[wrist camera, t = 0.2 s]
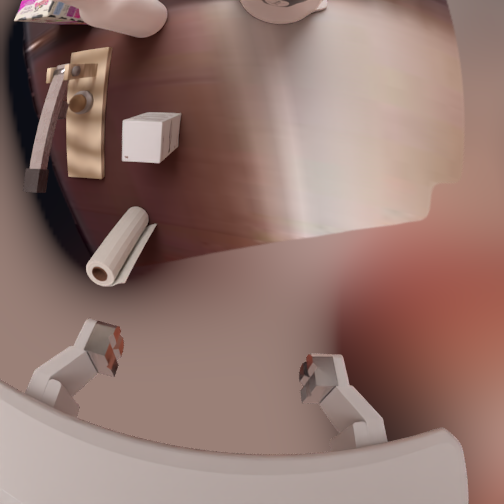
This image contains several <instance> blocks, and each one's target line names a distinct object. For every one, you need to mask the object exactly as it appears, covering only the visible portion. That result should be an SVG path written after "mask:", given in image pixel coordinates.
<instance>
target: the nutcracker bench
mask: <svg viewBox="0 0 504 504" xmlns="http://www.w3.org/2000/svg"><path fill="white" fill-rule="evenodd" d="M111 53H112V48H111V47H107V48H99V49H92V50H86V51H80V52H74V53H72V55H71V62H70V64H67V65H65V70H64V80H69V83H68V94H67V103H68V104H69V107H68V110H67V120H66V135H67V162H68V176H69V177H82V178H95V179H102V178H104V177H105V172H104V130H105V109H106V95H107V85H108V75H109V67H110V60H111ZM56 69H57V67H53V68H48V69H47V79H46V83H51V82H52V79H53V73H54V71H55V70H56Z"/></svg>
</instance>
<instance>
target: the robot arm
mask: <svg viewBox="0 0 504 504" xmlns="http://www.w3.org/2000/svg"><path fill="white" fill-rule="evenodd" d="M240 2H241V4H242V6H243V7H244V8H245V10H246V11H247V12H248V13H250V14H251V15H252V16H254V17H255V18H257V19H259V20H262V21H265V22H268V23H274V24H288V23H293V22H296V21H299V20H301V19H303V18H305V17H306V16H307V15H309V14H310V13H312V12H316V11H321V10H324V9H325V8H326V7H327V0H323V1H322V0H240ZM120 333H121V330H120V327H119V326H116V325H111V324H107V323H104V322H100V321H97V320H94V319H90V318H88V319H87V320H86V321H85V323H84V325H83V328H82V329H81V331H80V333H79V335H78V337H77V340H76V342H75V344H74V346H70V347H68V348H67V349H65V350H64V351H62V352H61V353H59V354H58V355H56V356H55V357H53V358H52V359H50V360H49V361H48V362H46V363H44V364H43V365H42V366H40V367H39V368H37V369H36V370H35V371H34V373H33V376H32V378H31V380H30V383H29V385H28V387H27V390H26V392H25V393H23V392H21V391H19V390H18V389H16V388H14V387H13V386H11V385H9V384H8V383H6V382H4V381H3V380H1V379H0V504H468V482H467V472H466V465H465V459H464V453H463V449H462V446H461V444H460V442H459V441H458V440H457V439H456V438H455V437H454V436H453V435H452V434H451V433H450V432H449V431H447V430H446V429H444V428H438V429H435V430H431V431H428V432H425V433H422V434H418V435H415V436H411V437H407V438H403V439H399V440H395V441H391V442H387V437H386V432H385V428H384V423H383V419H382V417H381V416H380V415H379V414H378V413H377V412H376V411H375V410H374V409H373V408H372V406H371V405H370V404H369V403H368V402H367V401H366V400H365V399H364V398H363V397H362V396H361V395H360V393H359V392H358V391H357V390H356V389H355V388H354V387H353V386H350V385H349V381H348V377H347V372H346V368H345V364H344V359H343V357H342V355H330V354H309V355H308V356H307V357H306V362H304V363H303V364H302V365H301V367H300V372H299V381H300V383H301V384H302V386H303V388H302V389H301V401H302V403H307V404H309V403H310V404H319V405H320V407H321V408H322V410H323V411H324V413H325V414H326V415H327V417H328V418H329V420H330V421H331V422H332V424H333V425H334V427H335V428H336V429H337V431H338V432H339V434H338V435H336V436H335V437H333V438H332V439H331V440H330V449H331V451H330V452H320V453H306V454H242V453H228V452H217V451H208V450H200V449H193V448H187V447H180V446H175V445H170V444H165V443H160V442H155V441H151V440H147V439H142V438H138V437H135V436H131V435H127V434H124V433H120V432H117V431H113V430H110V429H107V428H104V427H101V426H98V425H95V424H92V423H90V422H87V421H84V420H81V419H79V418H77V415H78V412H79V408H80V407H79V404H78V403H77V402H76V401H75V400H74V399H73V396H74V395H75V394H76V393H77V392H78V391H79V390H81V389H82V388H83V387H84V386H85V385H86V384H87V383H88V382H89V381H90V380H92V379H93V378H94V377H95V376H96V375H97V373H100V374H104V375H107V376H111V377H115V374H116V371H117V368H118V363H117V360H118V359H119V358H120V357H121V356H122V353H123V348H124V340H123V337H122V336H121V335H120Z"/></svg>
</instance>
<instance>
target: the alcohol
mask: <svg viewBox="0 0 504 504" xmlns="http://www.w3.org/2000/svg"><path fill="white" fill-rule="evenodd" d="M50 1H51V0H50ZM52 1H55V2H62V3H65V4H68V5H70V6H73V7H76V8H78V9H79V13H80V17H81V19H82V20H83V21H84V22H86V23H87V24H88V25H90V26H93V27H98V28H102V29H107V30H111V31H115V32H119V33H123V34H126V35H130V36H133V37H137V38H145V37H149V36H151V35H153V34H155V33H156V32H158V31H159V30H160V29H161V28H162V27H163V25H164V24H165V22H166V20H167V9H166V7H165V6H164V5H163V4H162V3H161V2H159V1H158V0H52Z"/></svg>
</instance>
